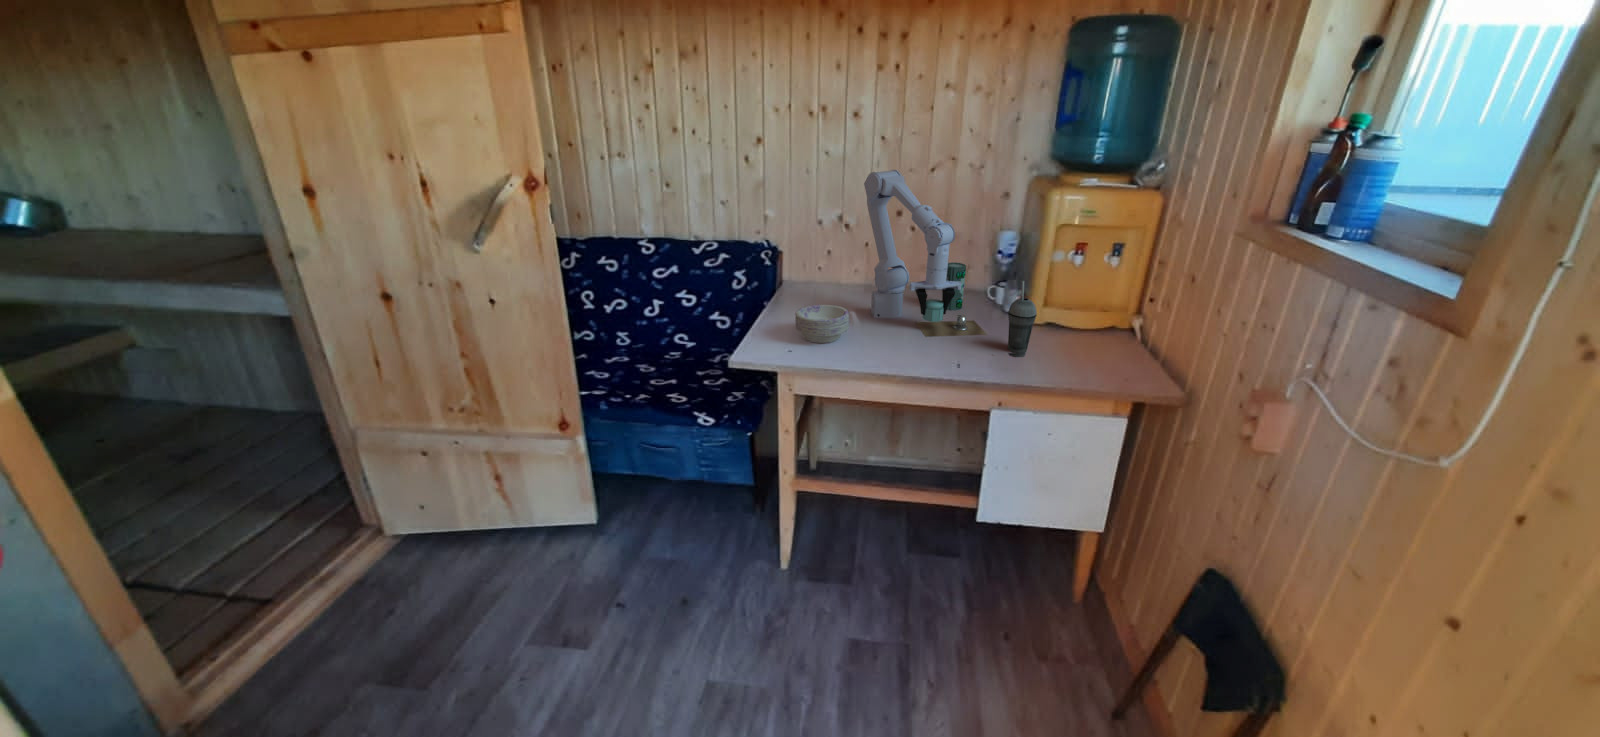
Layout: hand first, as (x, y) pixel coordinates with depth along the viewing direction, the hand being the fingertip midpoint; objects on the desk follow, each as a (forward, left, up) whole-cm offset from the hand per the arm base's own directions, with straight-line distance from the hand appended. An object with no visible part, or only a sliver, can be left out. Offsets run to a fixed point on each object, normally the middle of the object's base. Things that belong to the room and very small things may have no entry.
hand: (932, 313), depth 189 cm
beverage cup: (+19, -18, -6) cm, 27 cm away
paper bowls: (-32, -1, -6) cm, 33 cm away
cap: (0, 0, -2) cm, 2 cm away
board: (+6, 0, -6) cm, 8 cm away
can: (+12, +19, -6) cm, 23 cm away
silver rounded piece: (+9, 0, -5) cm, 10 cm away
